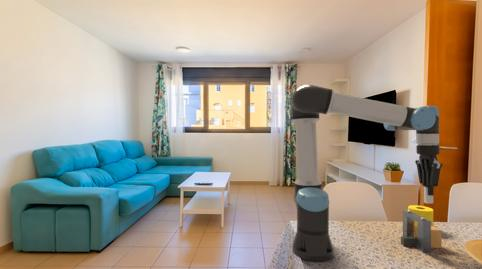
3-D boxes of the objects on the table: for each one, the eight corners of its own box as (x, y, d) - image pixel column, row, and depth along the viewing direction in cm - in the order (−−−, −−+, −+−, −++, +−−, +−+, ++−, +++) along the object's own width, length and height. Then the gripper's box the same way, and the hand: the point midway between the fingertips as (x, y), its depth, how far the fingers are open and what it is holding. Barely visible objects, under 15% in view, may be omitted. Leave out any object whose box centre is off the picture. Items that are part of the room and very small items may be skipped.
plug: (405, 246, 101) (405, 229, 101) (399, 242, 105) (399, 225, 105) (441, 247, 101) (441, 230, 101) (434, 243, 105) (434, 226, 105)
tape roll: (416, 222, 129) (416, 204, 129) (438, 229, 119) (438, 209, 119) (403, 225, 125) (403, 206, 125) (424, 232, 116) (424, 212, 116)
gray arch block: (422, 252, 97) (422, 219, 97) (402, 238, 110) (402, 209, 110) (430, 252, 96) (431, 219, 96) (409, 238, 109) (409, 209, 109)
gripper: (449, 145, 96) (450, 207, 96) (426, 143, 109) (427, 198, 109) (428, 145, 96) (429, 207, 96) (408, 144, 109) (409, 198, 109)
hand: (428, 202), depth 103 cm, fingers closed
